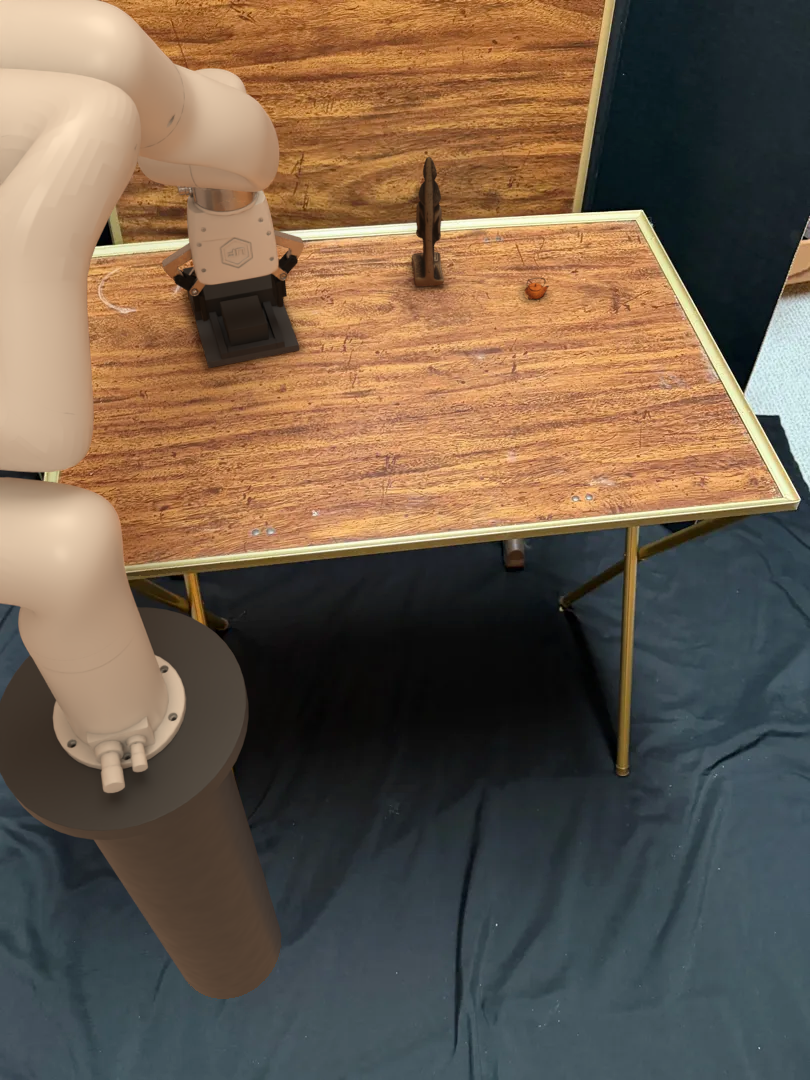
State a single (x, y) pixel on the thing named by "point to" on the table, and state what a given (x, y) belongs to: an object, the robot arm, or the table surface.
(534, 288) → the small kettle
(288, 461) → the table surface
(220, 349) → the pad base
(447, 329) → the table surface
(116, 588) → the robot arm
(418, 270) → the statue
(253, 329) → the loose pad
